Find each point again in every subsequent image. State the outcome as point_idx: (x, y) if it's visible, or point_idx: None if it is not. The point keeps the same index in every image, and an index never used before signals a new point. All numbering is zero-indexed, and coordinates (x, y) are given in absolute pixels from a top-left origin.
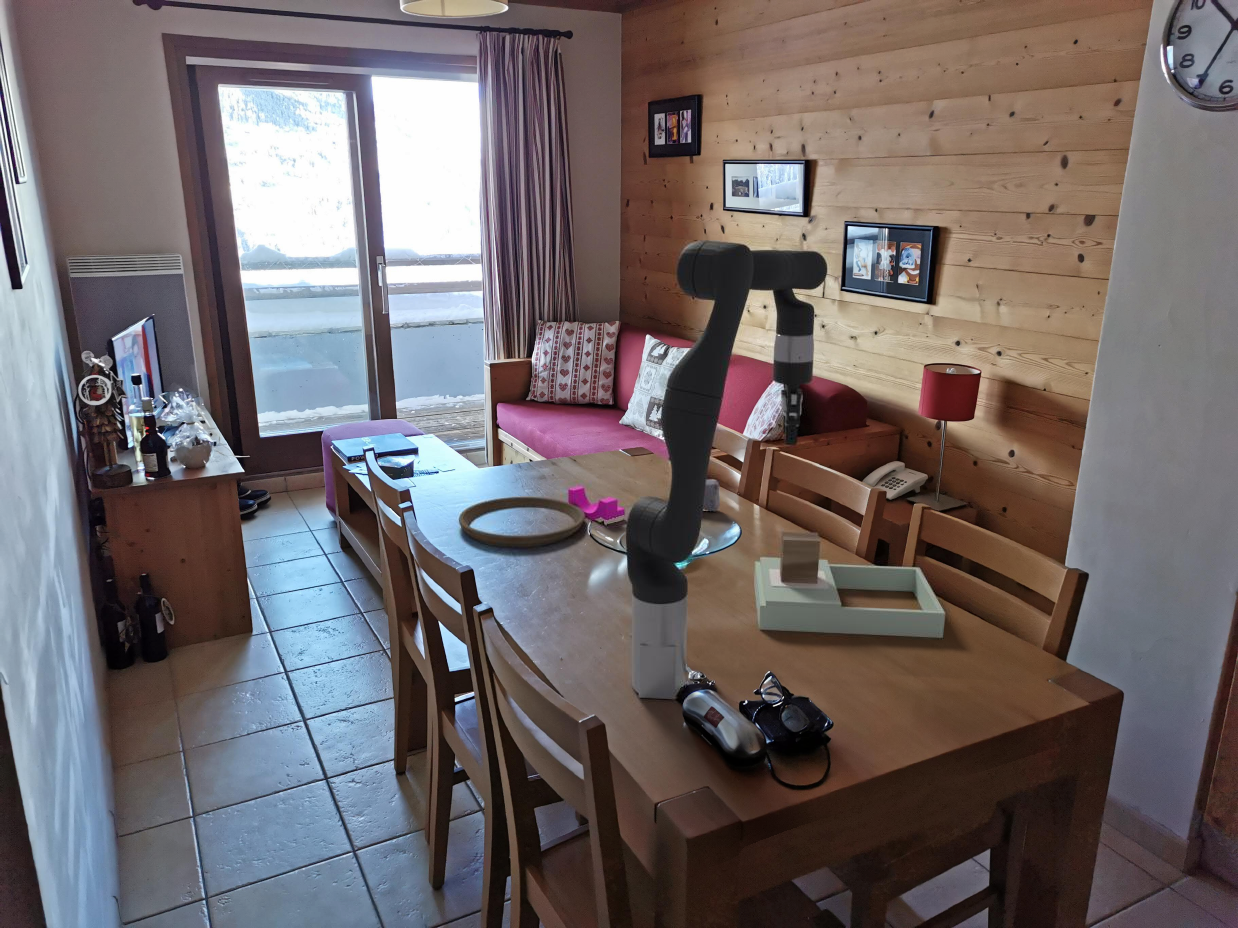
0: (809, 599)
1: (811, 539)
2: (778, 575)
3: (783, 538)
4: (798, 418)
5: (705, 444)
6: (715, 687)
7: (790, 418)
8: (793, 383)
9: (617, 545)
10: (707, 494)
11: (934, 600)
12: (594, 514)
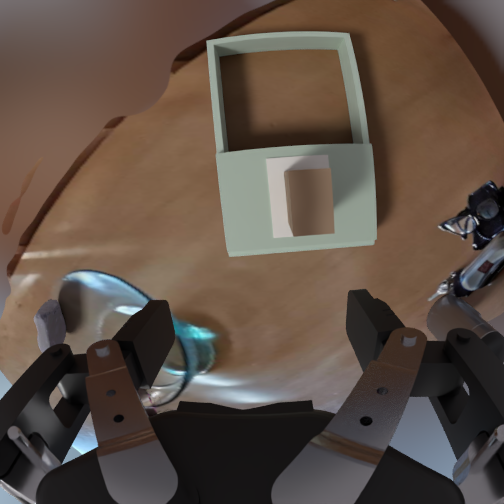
0: (365, 183)
1: (325, 183)
2: None
3: (328, 233)
4: (485, 353)
5: None
6: (458, 270)
7: (145, 354)
8: None
9: (169, 388)
10: (51, 320)
11: (315, 34)
12: None
